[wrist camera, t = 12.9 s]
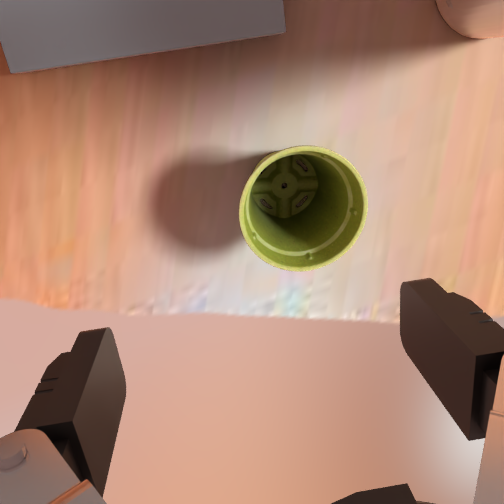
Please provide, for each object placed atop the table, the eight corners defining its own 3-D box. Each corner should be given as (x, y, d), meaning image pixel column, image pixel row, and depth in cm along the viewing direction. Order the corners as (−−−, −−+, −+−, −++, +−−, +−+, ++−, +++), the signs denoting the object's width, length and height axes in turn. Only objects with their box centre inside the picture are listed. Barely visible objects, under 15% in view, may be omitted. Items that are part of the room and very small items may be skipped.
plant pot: (280, 105, 38) (301, 116, 30) (357, 176, 41) (394, 203, 33) (209, 190, 40) (211, 221, 32) (287, 252, 43) (306, 294, 35)
